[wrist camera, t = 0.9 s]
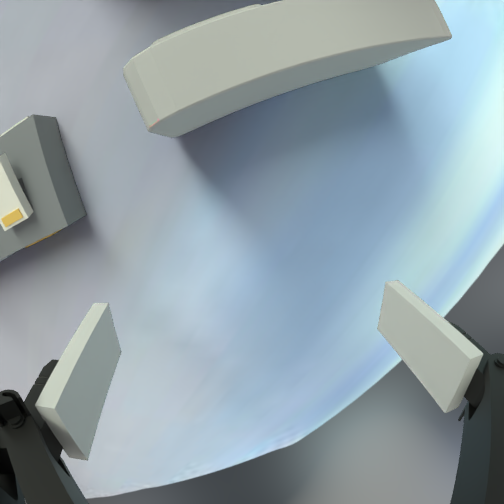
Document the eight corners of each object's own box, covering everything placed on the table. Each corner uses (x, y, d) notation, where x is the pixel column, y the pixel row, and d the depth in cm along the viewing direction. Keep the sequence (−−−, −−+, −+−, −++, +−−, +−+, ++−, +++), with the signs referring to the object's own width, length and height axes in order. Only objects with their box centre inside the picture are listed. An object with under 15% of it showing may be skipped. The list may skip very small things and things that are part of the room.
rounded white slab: (352, 19, 32) (427, -33, 15) (375, 66, 34) (463, 36, 17) (149, 86, 32) (102, 40, 15) (174, 139, 35) (141, 131, 18)
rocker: (-18, 169, 24) (-26, 175, 23) (5, 152, 24) (-3, 157, 23) (10, 224, 29) (4, 231, 27) (33, 211, 29) (27, 218, 27)
